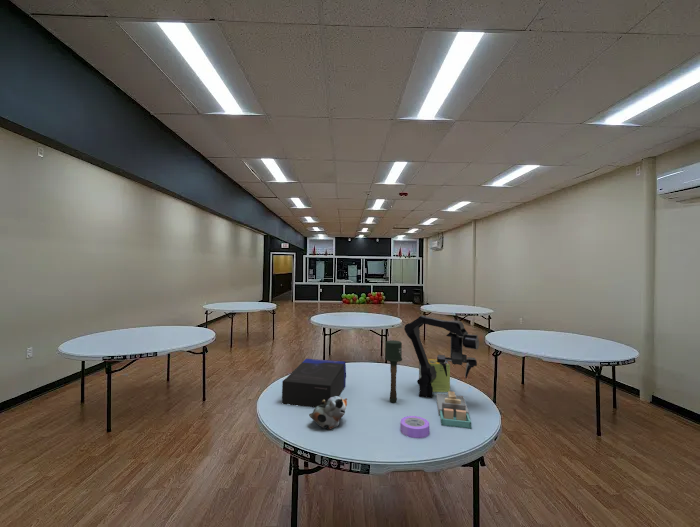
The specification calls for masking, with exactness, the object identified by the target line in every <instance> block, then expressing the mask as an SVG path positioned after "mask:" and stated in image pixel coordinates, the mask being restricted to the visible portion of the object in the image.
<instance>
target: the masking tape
mask: <svg viewBox="0 0 700 527" xmlns="http://www.w3.org/2000/svg"><path fill="white" fill-rule="evenodd" d="M399 424H400V432H401V434H402V435H404V436H406V437H407V438H408V437H409V438H411V439H412V438H413V439H424V438H427V437H428V436H429V435H430V422H429V420H427V418H424V417H421V416H417V415H409V416H408V415H407V416H404V417H402V418H400V422H399Z"/></svg>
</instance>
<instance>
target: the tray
mask: <svg viewBox="0 0 700 527" xmlns="http://www.w3.org/2000/svg"><path fill="white" fill-rule="evenodd" d="M439 418H440V424H441V426H444V427H451V428H453V427H454V428H460V429H461V428H463V429H471V430H472V420H471V419H470V418H471V417H470V414H469V415H468V413H466V421H461V420H456V417H453V420H452V419H444V416H443V415H442V411H440V416H439Z"/></svg>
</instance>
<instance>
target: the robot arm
mask: <svg viewBox="0 0 700 527" xmlns="http://www.w3.org/2000/svg"><path fill="white" fill-rule="evenodd" d="M424 325H427V326H433V327H438V328H440V329H441V328H442V329H444V330H446V331H447V332H448V333H447V334H446V337H450V354H449V355H450V357H449V356H446V355H445V354H438V355H436V359H437V362H438V363H440V364H442V366H443V368H444V371H445V374H446V377H447V369H446V361H447V362H451V364H452V365H459V366H462V365H463V363H464V364H466V366H465V376H464V378H465V379H467V378H468V375H469V372H470V371H471V369H472V368H475V367H477V366H478V363H477V362H478V361H477V359H476V358H475V357H468V356H467V354H465V353H464V354H463V347H464V348H466V349H471V350H478V349H479V346H480V341H479V337H478V334H470V333H469V332H468V331H467V330H466V328H465V325H464V323H463V321H461V320H444V319H440V318H436V317H435V318H434V317H430V316H427V315H419V316H418V317H417V318H416V319H415V320H412V321H411V322H409V323H408V322H407V323H406V324H405V325H404V328H403V330H404V332H405V334H406V336H407V337H408V338H409V339H410V340H411V343H412V346H413V349H414V351H415V354H416V356H417V360H418V364H419V363H420V366H421V371H420V373H421V378H420V379H419V378H418V379H417V380H416V382H417V385H418V386H419V389H418V391H419V392H418V397H420V398H429V399H430V398H431V399H433V395H434V392H433V387H432V385H431V383H432V382H433V380H435V379H436V376H437V375H436V373H437V372H436V370H435V367H434V366H431V365H430V364H429V362H428V359H429V358H428V357H427V354H426V352H425V348H424V346H423V344H422V343H423V342H422V341H421V337H420V336H421V334H420V333H421V330H420V328H422V326H424Z"/></svg>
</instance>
